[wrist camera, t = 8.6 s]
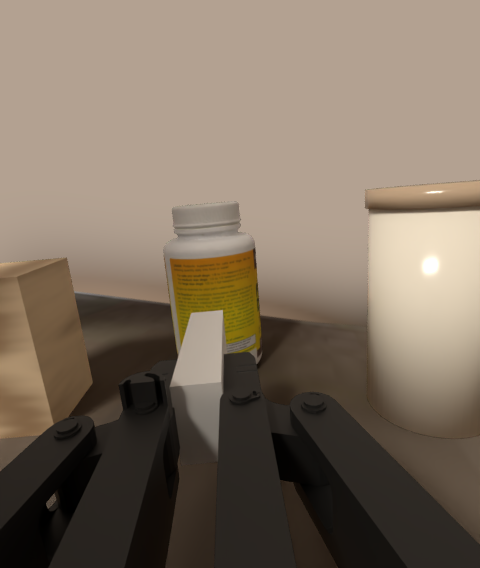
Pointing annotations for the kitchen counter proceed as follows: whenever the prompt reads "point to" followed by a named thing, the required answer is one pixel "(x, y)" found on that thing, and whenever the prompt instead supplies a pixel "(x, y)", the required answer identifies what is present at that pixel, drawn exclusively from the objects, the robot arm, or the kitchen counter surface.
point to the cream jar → (425, 307)
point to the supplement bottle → (214, 274)
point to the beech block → (39, 347)
